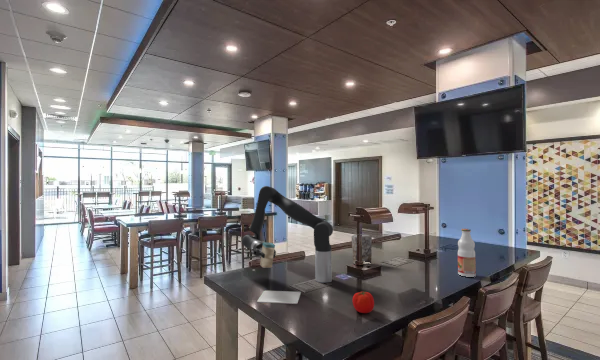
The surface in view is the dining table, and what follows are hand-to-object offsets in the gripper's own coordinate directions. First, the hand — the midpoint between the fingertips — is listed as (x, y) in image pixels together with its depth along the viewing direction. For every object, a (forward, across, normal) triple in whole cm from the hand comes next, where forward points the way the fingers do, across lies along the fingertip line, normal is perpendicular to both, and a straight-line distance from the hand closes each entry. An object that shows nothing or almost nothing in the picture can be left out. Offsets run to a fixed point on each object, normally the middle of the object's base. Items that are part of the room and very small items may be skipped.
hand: (269, 256), depth 160 cm
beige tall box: (-3, 0, +6) cm, 7 cm away
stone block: (-20, +78, +10) cm, 81 cm away
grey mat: (+14, +3, +16) cm, 22 cm away
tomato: (+46, +28, +11) cm, 55 cm away
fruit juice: (+30, +116, +1) cm, 120 cm away
